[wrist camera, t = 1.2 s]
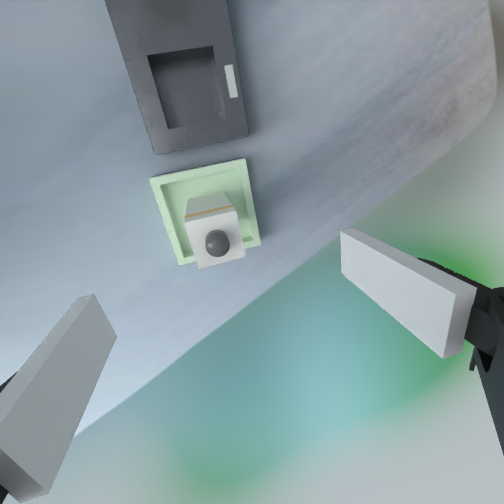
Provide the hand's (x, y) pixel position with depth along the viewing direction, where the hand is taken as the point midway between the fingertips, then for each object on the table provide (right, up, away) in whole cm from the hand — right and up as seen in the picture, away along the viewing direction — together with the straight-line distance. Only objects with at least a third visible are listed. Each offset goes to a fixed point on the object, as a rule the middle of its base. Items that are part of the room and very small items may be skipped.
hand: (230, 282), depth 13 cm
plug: (-4, +6, +15) cm, 17 cm away
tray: (-4, +6, +16) cm, 17 cm away
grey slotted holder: (-6, +21, +9) cm, 24 cm away
